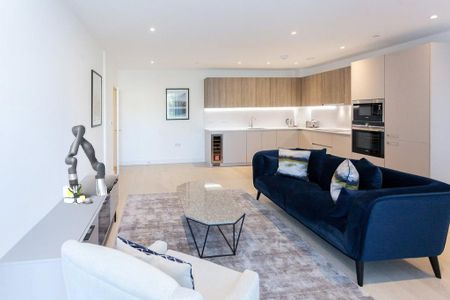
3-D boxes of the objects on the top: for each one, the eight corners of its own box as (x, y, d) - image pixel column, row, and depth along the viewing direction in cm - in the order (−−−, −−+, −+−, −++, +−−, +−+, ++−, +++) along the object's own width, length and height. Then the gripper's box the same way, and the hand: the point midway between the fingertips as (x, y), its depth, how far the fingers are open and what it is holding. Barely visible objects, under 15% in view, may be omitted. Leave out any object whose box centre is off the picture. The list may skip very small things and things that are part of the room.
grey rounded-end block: (89, 202, 332) (89, 197, 331) (92, 203, 328) (91, 198, 328) (84, 203, 328) (84, 198, 328) (86, 204, 325) (86, 199, 324)
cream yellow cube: (83, 198, 339) (83, 195, 338) (84, 199, 337) (84, 196, 337) (80, 199, 337) (80, 196, 336) (81, 199, 335) (81, 196, 334)
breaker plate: (86, 200, 342) (86, 197, 342) (92, 201, 334) (91, 199, 334) (72, 203, 332) (72, 201, 332) (77, 205, 324) (77, 202, 324)
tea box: (73, 202, 335) (72, 187, 333) (64, 202, 337) (62, 187, 336) (83, 198, 350) (81, 183, 348) (74, 198, 352) (72, 183, 350)
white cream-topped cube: (80, 201, 330) (80, 198, 329) (82, 201, 328) (81, 198, 328) (77, 201, 328) (77, 198, 327) (78, 202, 326) (78, 199, 325)
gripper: (78, 176, 336) (80, 194, 339) (64, 179, 327) (66, 197, 329) (82, 177, 331) (84, 195, 333) (67, 180, 322) (69, 199, 324)
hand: (75, 196), depth 331 cm, fingers closed
